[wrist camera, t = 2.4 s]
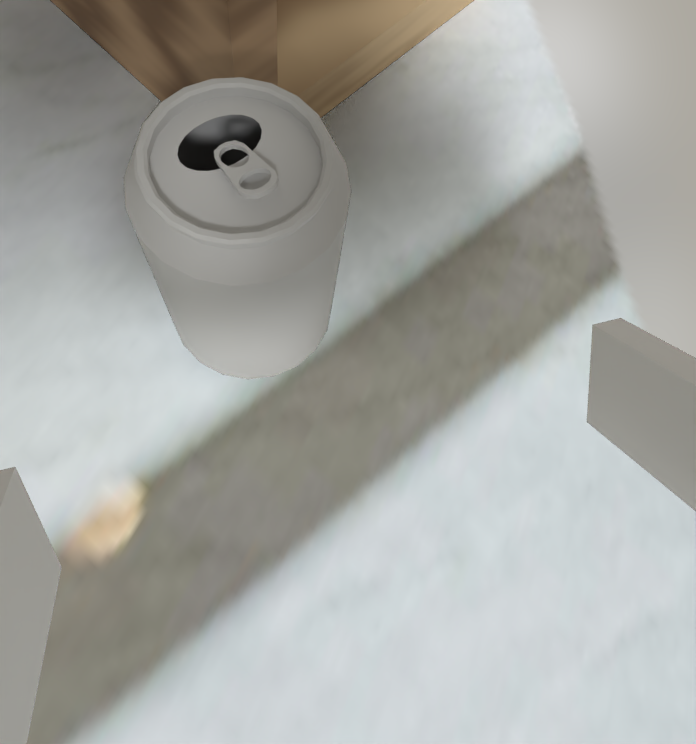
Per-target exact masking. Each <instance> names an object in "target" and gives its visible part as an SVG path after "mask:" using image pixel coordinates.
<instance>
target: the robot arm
mask: <svg viewBox="0 0 696 744" xmlns="http://www.w3.org/2000/svg"><path fill="white" fill-rule="evenodd" d="M587 423H589V424H590V425H591V426H592V427H594V428H595V429H596V430H597V431H598V432H600V433H601V434H602V435H603V436H605V437H606V438H607V439H608V440H609V441H611V442H612V443H613V444H614V445H616V446H617V447H618V448H619V449H620V450H622V451H623V452H624V453H625V454H627V455H628V456H629V457H630V458H631V459H633V460H634V461H635V462H636V463H637V464H639V465H640V466H641V467H642V468H644V469H645V470H646V471H647V472H648V473H650V474H651V475H652V476H653V477H655V478H656V479H657V480H658V481H659V482H661V483H662V484H663V485H664V486H666V487H667V488H668V489H669V490H670V491H672V492H673V493H674V494H675V495H676V496H678V497H679V498H680V499H681V500H683V501H684V502H685V503H686V504H687V505H689V506H690V507H691V508H692V509H694V510H695V511H696V358H695V357H693V356H691V355H689V354H687V353H685V352H683V351H681V350H680V349H678V348H676V347H674V346H672V345H670V344H669V343H667V342H665V341H663V340H661V339H659V338H657V337H655V336H653V335H652V334H650V333H648V332H646V331H644V330H642V329H640V328H639V327H637V326H635V325H633V324H631V323H629V322H627V321H625V320H624V319H622V318H619V319H615V320H611V321H606V322H602V323H598V324H594V325H593V327H592V343H591V360H590V376H589V393H588V409H587ZM61 568H62V567H61V565H60V562H59V560H58V558H57V556H56V554H55V552H54V549H53V547H52V545H51V543H50V541H49V539H48V537H47V534H46V532H45V530H44V528H43V526H42V524H41V521H40V519H39V517H38V515H37V513H36V511H35V508H34V506H33V504H32V502H31V500H30V498H29V495H28V493H27V491H26V489H25V487H24V485H23V483H22V480H21V478H20V476H19V474H18V472H17V470H16V467H12V468H8V469H4V470H0V744H27V739H28V734H29V729H30V724H31V718H32V713H33V708H34V703H35V698H36V693H37V688H38V683H39V678H40V673H41V668H42V663H43V658H44V653H45V648H46V643H47V638H48V633H49V628H50V623H51V618H52V613H53V608H54V603H55V598H56V593H57V588H58V583H59V578H60V573H61Z"/></svg>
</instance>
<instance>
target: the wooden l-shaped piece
mask: <svg viewBox="0 0 696 744" xmlns="http://www.w3.org/2000/svg"><path fill="white" fill-rule="evenodd" d="M50 1H51V2H53V3H54V4H55V5H56V6H57V7H58V8H59V9H60V10H61V11H62V12H64V13H65V14H66V15H67V16H68V17H69V18H70V19H71V20H72V21H73V22H75V23H76V24H77V25H78V26H79V27H80V28H81V29H82V30H83V31H84V32H86V33H87V34H88V35H89V36H90V37H91V38H92V39H93V40H94V41H95V42H97V43H98V44H99V45H100V46H101V47H102V48H103V49H104V50H105V51H107V52H108V53H109V54H110V55H111V56H112V57H113V58H114V59H115V60H116V61H118V62H119V63H120V64H121V65H122V66H123V67H124V68H125V69H126V70H127V71H129V72H130V73H131V74H132V75H133V76H134V77H135V78H136V79H137V80H138V81H140V82H141V83H142V84H143V85H144V86H145V87H146V88H147V89H148V90H149V91H151V92H152V93H153V94H154V95H155V96H156V97H157V98H158V99H159V100H160V101H163V100H165V99H166V98H168V97H170V96H171V95H173V94H174V93H176V92H177V91H179V90H180V89H182V88H183V87H187V86H190V85H193V84H196V83H199V82H203V81H206V80H209V79H215V78H236V77H244V78H249V79H253V80H258V81H263V82H268V83H272V84H274V85H276V86H278V87H280V88H283V89H285V90H287V91H289V92H291V93H293V94H295V95H297V96H298V97H300V98H301V99H302V100H303V101H304V102H305V103H306V104H307V105H308V106H309V107H311V108H312V109H313V110H314V111H315V112H316V113H317V114H318V115H319V116H320V118H321V117H323V116H324V115H325V114H327V113H328V112H329V111H330V110H332V109H333V108H334V107H336V106H337V105H338V104H340V103H341V102H342V101H344V100H345V99H346V98H347V97H349V96H350V95H351V94H353V93H354V92H355V91H357V90H358V89H359V88H360V87H362V86H363V85H364V84H366V83H367V82H368V81H370V80H371V79H372V78H373V77H375V76H376V75H377V74H379V73H380V72H381V71H383V70H384V69H385V68H387V67H388V66H389V65H390V64H392V63H393V62H394V61H396V60H397V59H398V58H400V57H401V56H402V55H403V54H405V53H406V52H407V51H409V50H410V49H411V48H413V47H414V46H415V45H417V44H418V43H419V42H420V41H422V40H423V39H424V38H426V37H427V36H428V35H430V34H431V33H432V32H433V31H435V30H436V29H437V28H439V27H440V26H441V25H443V24H444V23H445V22H446V21H448V20H449V19H450V18H452V17H453V16H454V15H456V14H457V13H458V12H460V11H461V10H462V9H463V8H465V7H466V6H467V5H469V4H470V3H471V2H473V1H474V0H50Z"/></svg>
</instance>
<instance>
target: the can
mask: <svg viewBox="0 0 696 744" xmlns="http://www.w3.org/2000/svg"><path fill="white" fill-rule="evenodd" d="M124 193H125V209H126V211H127V214H128V216H129V218H130V221H131V223H132V225H133V228H134V230H135V233H136V235H137V237H138V240H139V242H140V244H141V247H142V249H143V252H144V254H145V256H146V259H147V261H148V263H149V266H150V268H151V271H152V273H153V275H154V278H155V280H156V282H157V285H158V287H159V290H160V292H161V294H162V297H163V299H164V301H165V304H166V306H167V309H168V311H169V313H170V316H171V318H172V320H173V323H174V325H175V327H176V329H177V332H178V334H179V336H180V338H181V341H182V343H183V345H184V346H185V347H186V348H187V349H188V350H189V351H190V352H191V353H192V354H193V356H194V357H195V358H196V359H197V360H198V361H199V362H200V363H202V364H204V365H206V366H207V367H209V368H211V369H213V370H215V371H217V372H219V373H221V374H223V375H228V376H233V377H238V378H244V379H256V378H264V377H273V376H276V375H278V374H281V373H283V372H285V371H288V370H290V369H292V368H294V367H297V366H298V365H299V364H300V363H302V362H303V361H304V360H305V359H306V358H307V357H308V356H310V355H311V354H312V353H313V352H314V351H315V350H316V349H317V347H318V345H319V343H320V342H321V340H322V338H323V336H324V335H325V333H326V331H327V329H328V323H329V318H330V313H331V307H332V302H333V296H334V290H335V284H336V278H337V272H338V267H339V261H340V255H341V249H342V243H343V237H344V232H345V226H346V220H347V214H348V208H349V202H350V197H351V187H350V181H349V176H348V170H347V164H346V161H345V160H344V158H343V156H342V154H341V153H340V151H339V149H338V148H337V146H336V144H335V142H334V141H333V139H332V137H331V135H330V134H329V132H328V130H327V128H326V127H325V125H324V123H323V121H322V120H321V118H320V116H319V115H318V114H317V113H316V112H315V111H314V110H313V109H312V108H311V107H309V106H308V105H307V104H306V103H305V102H304V101H303V100H302V99H301V98H300V97H298V96H297V95H295V94H293V93H291V92H289V91H287V90H285V89H283V88H280V87H278V86H276V85H274V84H272V83H268V82H263V81H258V80H253V79H249V78H244V77H236V78H215V79H209V80H206V81H203V82H199V83H196V84H193V85H190V86H187V87H183V88H182V89H180V90H179V91H177V92H176V93H174V94H173V95H171V96H170V97H168V98H166V99H165V100H163V101H162V102H160V103H159V104H158V105H157V107H156V108H155V109H154V110H153V112H152V113H151V114H150V115H149V116H148V118H147V119H146V120H145V121H144V123H143V124H142V126H141V129H140V132H139V135H138V138H137V141H136V144H135V146H134V149H133V152H132V155H131V158H130V161H129V163H128V166H127V169H126V172H125V175H124Z"/></svg>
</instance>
